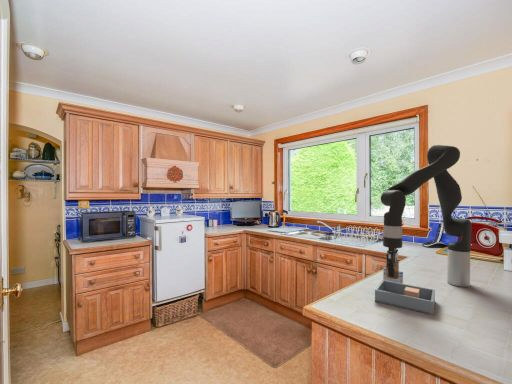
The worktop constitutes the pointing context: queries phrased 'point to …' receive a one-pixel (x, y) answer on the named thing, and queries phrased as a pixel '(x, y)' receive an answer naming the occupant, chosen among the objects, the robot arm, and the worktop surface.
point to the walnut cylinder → (396, 270)
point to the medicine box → (399, 280)
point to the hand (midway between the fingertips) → (392, 274)
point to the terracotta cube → (411, 292)
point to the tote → (405, 297)
